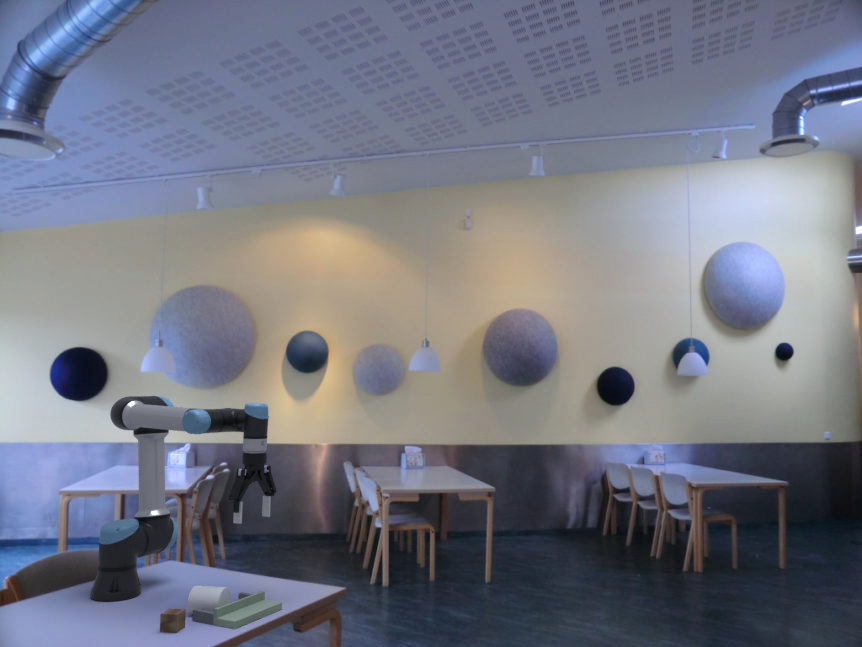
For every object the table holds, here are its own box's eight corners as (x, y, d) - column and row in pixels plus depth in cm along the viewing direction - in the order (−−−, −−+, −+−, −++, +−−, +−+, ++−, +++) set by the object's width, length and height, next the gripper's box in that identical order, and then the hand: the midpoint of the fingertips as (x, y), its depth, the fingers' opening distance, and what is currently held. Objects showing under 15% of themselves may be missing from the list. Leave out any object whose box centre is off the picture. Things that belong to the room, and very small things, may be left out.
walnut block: (159, 632, 201) (160, 613, 201) (168, 626, 206) (169, 608, 206) (176, 633, 200) (177, 614, 201) (185, 627, 205) (185, 609, 205)
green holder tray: (192, 620, 211) (193, 604, 211) (241, 601, 230) (242, 587, 230) (234, 629, 204) (235, 612, 204) (281, 609, 222) (282, 594, 223)
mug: (217, 619, 212) (218, 591, 213) (186, 617, 214) (187, 589, 215) (236, 607, 224) (237, 581, 225) (206, 605, 226) (207, 579, 227)
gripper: (237, 455, 218) (234, 527, 216) (288, 449, 240) (286, 514, 238) (218, 454, 221) (215, 524, 219) (270, 448, 243) (268, 512, 241)
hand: (252, 519), depth 229 cm, fingers open, 13 cm apart
